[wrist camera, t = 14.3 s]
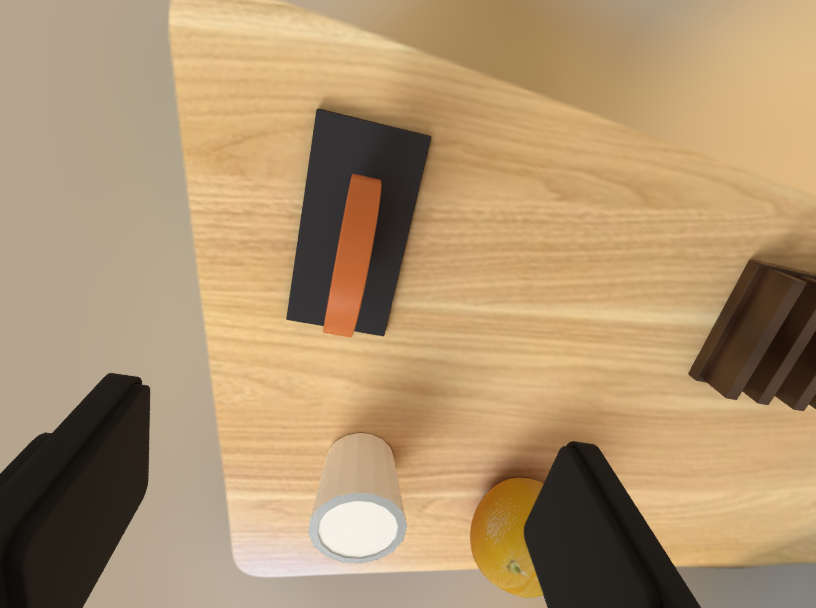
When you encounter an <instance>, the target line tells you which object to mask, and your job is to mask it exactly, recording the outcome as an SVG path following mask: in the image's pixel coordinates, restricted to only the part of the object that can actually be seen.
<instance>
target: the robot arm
mask: <svg viewBox="0 0 816 608" xmlns="http://www.w3.org/2000/svg"><path fill="white" fill-rule="evenodd" d="M149 422H150V387H149V386H147V385H142V380H141V378H139V377H135V376H128V375H121V374H115V373H109V374H107V375H106V376H105V377H104V378H103V379H102V380H101V381H100V382H99V383H98V384H97V385H96V386H95V387H94V389H93V390H92V391H91V392H90V393H89V394H88V395H87V396H86V397H85V398H84V399H83V400H82V402H81V403H80V404H79V405H78V406H77V407H76V408H75V409H74V410H73V411H72V412H71V413H70V414H69V416H68V417H67V418H66V419H65V420H64V421H63V422H62V423H61V424H60V425H59V427H57V429H56V430H55V431H54V432H53V433H43V434H41V435H39V436H37V437H36V438H35V439H34V440H32V442H30V444H28V446H27V447H26V448H25V449H24V450H23V451H22V452H21V453H20V454H19V455H18V456H17V457H16V458H15V459H14V460H13V461H12V462H11V463H10V464H9V465H8V466H7V467H6V469H4V471H2V473H1V474H0V608H83V606H84V604H85V602H86V601H87V599H88V597H89V595H90V593H91V592H92V590H93V588H94V586H95V584H96V583H97V581H98V579H99V577H100V575H101V574H102V572H103V570H104V568H105V566H106V565H107V563H108V561H109V559H110V557H111V556H112V554H113V552H114V550H115V548H116V546H117V545H118V543H119V541H120V539H121V538H122V535H123V534H124V532H125V530H126V528H127V527H128V525H129V523H130V521H131V520H132V518H133V516H134V514H135V512H136V511H137V509H138V507H139V505H140V503H141V502H142V500H143V498H144V495H145V493H146V489H147V486H148V473H149V471H148V470H149V425H150V423H149ZM524 540H525V543H526V546H527V549H528V552H529V555H530V558H531V560H532V563H533V566H534V569H535V572H536V575H537V578H538V581H539V584H540V587H541V590H542V592H543V595H544V598H545V601H546V604H547V607H548V608H701V607H700V605H699V604H698V602H697V601H696V599H695V597H694V596H693V594H692V593H691V591H690V590H689V588H688V587H687V585H686V583H685V582H684V580H683V579H682V577H681V576H680V574H679V573H678V571H677V569H676V568H675V566H674V565H673V563H672V562H671V560H670V558H669V557H668V555H667V554H666V552H665V551H664V549H663V548H662V546H661V544H660V543H659V541H658V540H657V538H656V537H655V535H654V533H653V532H652V530H651V529H650V527H649V526H648V524H647V523H646V521H645V519H644V518H643V516H642V515H641V513H640V512H639V510H638V508H637V507H636V505H635V504H634V502H633V501H632V499H631V498H630V496H629V494H628V493H627V491H626V490H625V488H624V487H623V485H622V483H621V482H620V480H619V479H618V477H617V476H616V474H615V473H614V471H613V469H612V468H611V466H610V465H609V463H608V462H607V460H606V458H605V457H604V455H603V454H602V452H601V451H600V449H599V448H598V447H597V446H596V445H594V444H588V443H581V442H575V441H572V442H569V443H568V444H567V446H563V447H562V448H561V449H560V450H559V452H558V455H557V457H556V459H555V461H554V463H553V465H552V467H551V469H550V471H549V474H548V476H547V478H546V480H545V482H544V484H543V486H542V488H541V491H540V493H539V495H538V497H537V499H536V501H535V503H534V505H533V507H532V510H531V512H530V514H529V516H528V518H527V520H526V522H525V525H524Z"/></svg>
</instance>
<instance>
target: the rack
mask: <svg viewBox="0 0 816 608" xmlns="http://www.w3.org/2000/svg"><path fill="white" fill-rule="evenodd" d="M689 375H690V376H691V377H692V378H693V379H695V380H696V381H701V382H707V383H708V384H709V385H711V386H712V387H713V388H714V389H715V390H717V391H718V392H719V393H720V394H721V395H723V396H724V397H725V398H728V399H734V400H737V399H738V397H739V396H740V394H741V392H742V391H743V392H744V393H745V394H746V395H748V396H749V397H750V398H752V399H753V400H754V401H755V402H757V403H758V404H764V405H769V404H770V402H771V401H772V399H773V397H774V396H776V397H777V398H778V399H780V400H781V401H782V402H784V403H785V404H787V405H788V406H789V407H791V408H792V409H794V410H799V411H804V410H805V409H806V408H807V406H808V405H810V406H812V407H813V408H815V409H816V274H813V273H809V272H804V271H800V270H795V269H791V268H787V267H782V266H778V265H773V264H769V263H765V262H760V261H756V260H751V259H750V260H749V262H748V264H747V266H746V268H745V269H744V271H743V273H742V275H741V277H740V279H739V281H738V283H737V284H736V286H735V288H734V290H733V292H732V294H731V296H730V297H729V299H728V301H727V303H726V305H725V307H724V309H723V310H722V312H721V314H720V316H719V318H718V320H717V322H716V323H715V325H714V327H713V329H712V331H711V333H710V335H709V336H708V338H707V340H706V342H705V344H704V346H703V348H702V350H701V351H700V353H699V355H698V357H697V359H696V361H695V363H694V364H693V366H692V368H691V370H690V372H689Z"/></svg>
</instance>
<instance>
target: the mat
mask: <svg viewBox="0 0 816 608" xmlns="http://www.w3.org/2000/svg"><path fill="white" fill-rule="evenodd" d="M430 140H431V136H428V135H424V134H420V133H416V132H412V131H408V130H404V129H400V128H396V127H392V126H387V125H383V124H379V123H375V122H371V121H367V120H363V119H359V118H355V117H351V116H347V115H342V114H338V113H334V112H330V111H326V110H322V109H317V110H316V117H315V124H314V131H313V138H312V145H311V152H310V159H309V166H308V173H307V180H306V187H305V194H304V201H303V207H302V214H301V221H300V228H299V235H298V242H297V249H296V256H295V263H294V270H293V277H292V284H291V291H290V298H289V305H288V312H287V318H286V319H287V320H291V321H297V322H303V323H309V324H315V325H321V326H324V322H325V316H326V310H327V305H328V299H329V293H330V288H331V282H332V277H333V271H334V265H335V260H336V254H337V249H338V244H339V238H340V233H341V227H342V222H343V217H344V211H345V206H346V201H347V196H348V191H349V186H350V181H351V176H352V174H357V175H362V176H366V177H371V178H375V179H379V180H381V195H380V203H379V211H378V217H377V224H376V230H375V236H374V241H373V247H372V253H371V258H370V263H369V268H368V274H367V279H366V283H365V288H364V293H363V298H362V302H361V307H360V311H359V315H358V319H357V323H356V327H355V330H354V331H356V332H361V333H367V334H373V335H379V336H384V335H385V330H386V326H387V322H388V318H389V314H390V309H391V305H392V301H393V297H394V292H395V288H396V284H397V280H398V276H399V271H400V267H401V263H402V259H403V254H404V250H405V246H406V242H407V238H408V233H409V229H410V225H411V221H412V216H413V212H414V208H415V204H416V200H417V195H418V191H419V187H420V183H421V178H422V174H423V170H424V166H425V162H426V157H427V153H428V149H429V145H430Z"/></svg>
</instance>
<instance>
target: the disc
mask: <svg viewBox="0 0 816 608" xmlns="http://www.w3.org/2000/svg"><path fill="white" fill-rule="evenodd" d="M380 195H381V180H379V179H375V178H371V177H366V176H362V175H357V174H352V176H351V181H350V186H349V191H348V196H347V201H346V206H345V211H344V217H343V222H342V227H341V233H340V238H339V244H338V249H337V254H336V260H335V265H334V271H333V277H332V282H331V288H330V293H329V299H328V305H327V310H326V316H325V322H324V329H323V332H324V333H327V334H333V335H339V336H345V337H352V335H353V333H354V330H355V327H356V323H357V319H358V315H359V311H360V307H361V302H362V298H363V293H364V288H365V283H366V279H367V274H368V268H369V263H370V258H371V253H372V247H373V241H374V236H375V230H376V224H377V217H378V211H379V203H380Z"/></svg>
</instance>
